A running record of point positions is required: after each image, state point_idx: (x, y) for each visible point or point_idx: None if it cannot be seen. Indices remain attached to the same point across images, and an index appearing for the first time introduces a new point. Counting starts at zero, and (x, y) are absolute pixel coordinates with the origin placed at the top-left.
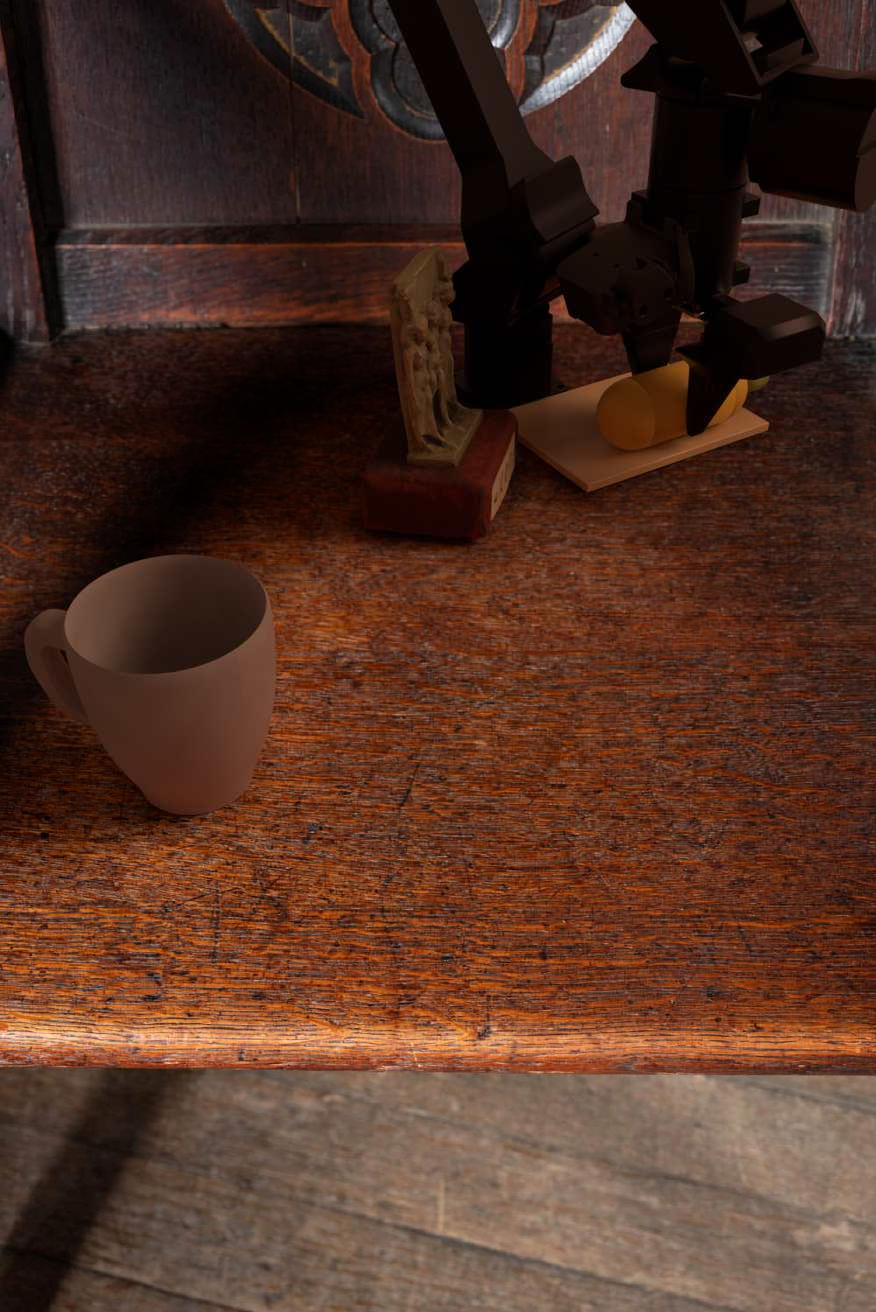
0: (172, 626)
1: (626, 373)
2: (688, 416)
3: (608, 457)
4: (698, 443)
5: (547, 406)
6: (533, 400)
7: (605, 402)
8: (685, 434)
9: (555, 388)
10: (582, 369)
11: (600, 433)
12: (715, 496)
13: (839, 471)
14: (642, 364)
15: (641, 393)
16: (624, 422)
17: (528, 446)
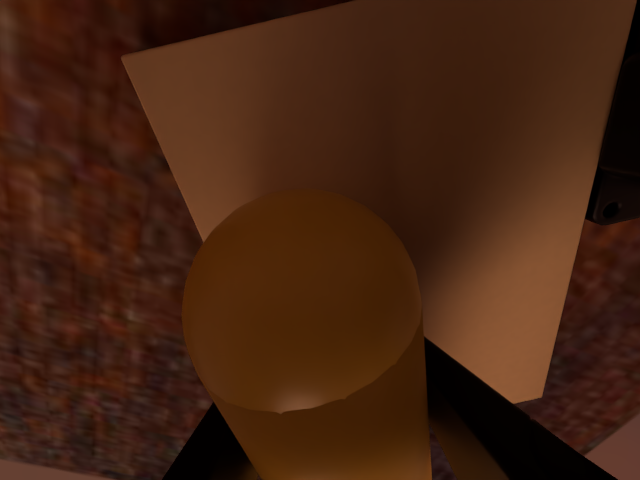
0: None
1: (554, 340)
2: None
3: (263, 183)
4: None
5: (563, 139)
6: (612, 110)
7: (307, 240)
8: None
9: (615, 196)
10: (631, 280)
11: (377, 211)
12: (101, 324)
13: (165, 470)
14: (463, 433)
15: (232, 390)
16: (197, 257)
17: None
